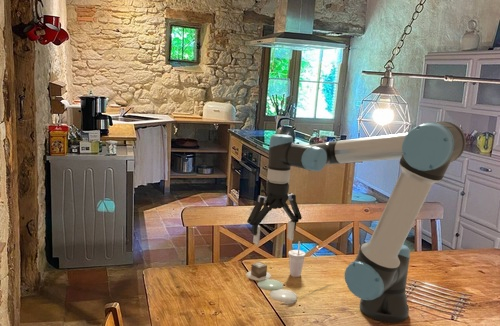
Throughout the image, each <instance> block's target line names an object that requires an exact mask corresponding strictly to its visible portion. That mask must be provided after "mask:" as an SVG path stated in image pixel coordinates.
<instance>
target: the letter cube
mask: <svg viewBox="0 0 500 326" xmlns="http://www.w3.org/2000/svg"><path fill="white" fill-rule="evenodd" d="M250 266H251V268H250V269H251V270H250V271H251V275H253V276H255V277H257V278H261V277H264V276H266V275H267V272H268V265H267V264H266V263H263V262H261V261H258V262H253V263H252V264H251V265H250Z"/></svg>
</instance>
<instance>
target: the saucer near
mask: <svg viewBox="0 0 500 326" xmlns="http://www.w3.org/2000/svg"><path fill="white" fill-rule="evenodd" d="M269 296H270V297H271V299H272V300H275V301H278V302H282V303H279V305H280V306H291V305H294V304H296V302H297V301H298V300H297V299H298V295H297V294H296V293H295V292H294V291H293V290H289V289H284V288H282V289H278V290H275V291H270V293H269Z"/></svg>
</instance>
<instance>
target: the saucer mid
mask: <svg viewBox="0 0 500 326" xmlns="http://www.w3.org/2000/svg"><path fill="white" fill-rule="evenodd" d="M257 286H258V288H260V289H262V290H264V291H268V292H269V291H270V292H272V291H275V290H278V289H284V284H283V282H282V281H280V280H277V279H273V278H269V279H267V280H261V281H257Z"/></svg>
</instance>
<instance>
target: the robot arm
mask: <svg viewBox="0 0 500 326" xmlns="http://www.w3.org/2000/svg"><path fill="white" fill-rule="evenodd" d="M466 142H467V140H466V135H465V133H464V131H463V130H462V129H461V127H460V126H458V125H457V124H455V123H453V122H449V121H445V120H444V121H436V122H433V121H429V122H424V123H420V124H418V125H417V126H414V127H413V128H412V129H410V130H409V131H408V132H403V133H394V134H386V135H377V136H370V137H369V136H368V137H360V138H353V139H351V138H350V139H343V140H337V141H336V140H335V141H334V140H333V141H326V142H321V143H313V144H303V143H295V142H294V138H293V136H292V135H288V134H283V133H282V134H279V133H278V134H277V133H276V134H272V135H271V136H270V138H269V146H268V164H267V173H266V175H267V177H266V179H267V180H266V186H265V187H266V190H265V191H266V192H265V193H266V195H265V196H262V195H258V196H257V198H256V203H255V205H254V206H253V209H252V211H251V212H250V215H249V216H248V217H247V221H246V222H247V223H248V224H249V225H250V226H251V234H252V235H253V240H252V242H253V244H255V245H256V246H260V239H261V237H260V236H261V225H260V224H261V223H262V221H263V220H264V219H265V217H266V216H267V215H268V213H269V212H271V211H272V210H276V209H283V211H284V212H285V213H286V215H287V216H288V217H289V220H288V224H287V235H286V239H288V240H289V241H294V233H295V231H296V230H297V224H298V223H299V220H302V218H303V217H302V214H301V211H300V209H299V206H298V202H297V195H296V194H294V193H292V192H289V191H290V180H291V167H293V168H297V169H302V170H307V171H311V172H312V171H314V172H321V171H322V170H323V169H324V168H325V166H327V165H340V164H348V163H363V162H376V161H388V160H399V162H398V164H399V167H400V169H401V172H400V173H399V176H398V178H397V180H396V182H395V185H394V187H393V189H392V191H391V194H390V196H389V198H388V200H387V202H386V204H385V207H384V209H383V211H382V213H381V215H380V218H379V220H378V222H377V224H376V226H375V228H374V231H373V233H372V235H371V237H370V239H369V241H368V242H364V243H362V244H361V246H360V248H359V251H358V253H357V255H356V257H355V259H354V261H352V262H350V263H349V264H348V265H347V267H346V268H345V271H344V281H345V283H346V285H347V288H348V290H349V291H350V293H352V294H353V295H354V296H355V297H356V298H358V299H360V300H359V310H360V311H361V312H362V313H363V314H364V315H365V316H367V317H368V318H371V319H373V320H376V321H379V322H383V323H389V324H390V323H394V324H395V323H402V322H404V321H406V320H407V319H408V318H409V314H410V313H409V312H410V311H409V310H410V307H409V304H408V299H407V294H406V289H407V288H406V287H407V281H408V273H409V272H408V271H409V265H410V264H409V263H410V259H411V250H410V248H409V247H408V246H407V245H405V242H406V239H407V237H408V236H409V233H410V232H411V229H412V227H413V226H414V223H415V221H416V219H417V217H418V215H419V213H420V211H421V208H422V207H423V205H424V203H425V201H426V198H427V197H428V195H429V193H430V191H431V188H432V187H433V185H434V184H437V183H439V182H441V181H442V180H443V178H444V176H445V174H446V172H447V171H448V169H449V167H450V164H451V163H452V162H455V161H456V160H458V159H460V157H461V156H462V154H463V153H464V151H465V150H466V146H467V145H466V144H467V143H466ZM287 201H289V204H290V206H291V208H290V207H289V205H288V202H287Z"/></svg>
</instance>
